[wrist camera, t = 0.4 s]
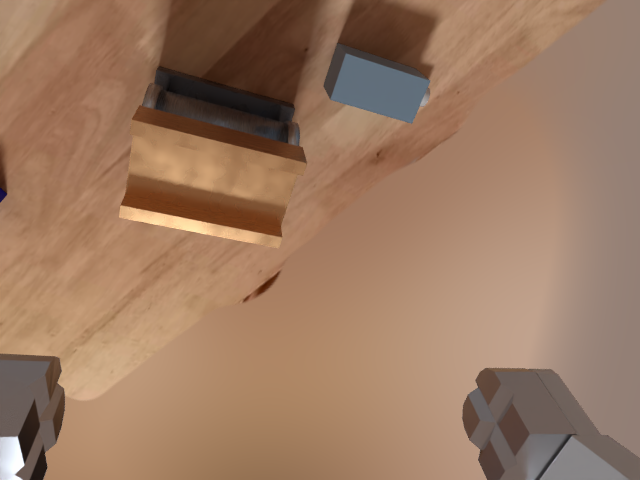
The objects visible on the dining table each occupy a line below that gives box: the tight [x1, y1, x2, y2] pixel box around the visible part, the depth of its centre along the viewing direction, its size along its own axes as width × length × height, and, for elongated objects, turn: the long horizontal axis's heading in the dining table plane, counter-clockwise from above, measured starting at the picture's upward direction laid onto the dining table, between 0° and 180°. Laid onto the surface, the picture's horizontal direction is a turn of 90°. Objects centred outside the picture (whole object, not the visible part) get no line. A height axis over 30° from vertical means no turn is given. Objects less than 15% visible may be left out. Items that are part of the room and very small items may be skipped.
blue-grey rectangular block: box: [324, 43, 430, 123], centre depth 49 cm, size 4×11×5 cm, turn 72°
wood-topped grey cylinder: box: [119, 67, 307, 248], centre depth 46 cm, size 10×14×14 cm
